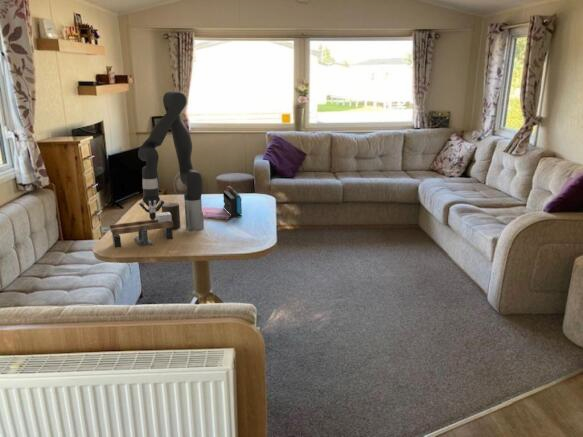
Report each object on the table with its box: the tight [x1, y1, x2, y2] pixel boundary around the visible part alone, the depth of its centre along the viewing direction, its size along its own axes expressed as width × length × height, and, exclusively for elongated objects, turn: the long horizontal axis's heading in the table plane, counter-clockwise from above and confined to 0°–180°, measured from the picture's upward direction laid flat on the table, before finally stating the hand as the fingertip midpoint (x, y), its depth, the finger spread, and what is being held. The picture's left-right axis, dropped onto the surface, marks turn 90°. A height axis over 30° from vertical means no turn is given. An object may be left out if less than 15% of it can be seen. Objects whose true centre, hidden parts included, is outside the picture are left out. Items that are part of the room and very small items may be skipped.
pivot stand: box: [111, 227, 174, 249], centre depth 242 cm, size 29×14×10 cm, turn 118°
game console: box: [222, 185, 243, 218], centre depth 292 cm, size 28×6×15 cm, turn 21°
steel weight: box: [155, 212, 172, 223], centre depth 245 cm, size 7×5×5 cm
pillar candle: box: [161, 202, 181, 231], centre depth 263 cm, size 10×10×15 cm
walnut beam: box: [109, 218, 173, 235], centre depth 241 cm, size 30×9×3 cm, turn 118°
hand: (152, 219), depth 243 cm, fingers closed
